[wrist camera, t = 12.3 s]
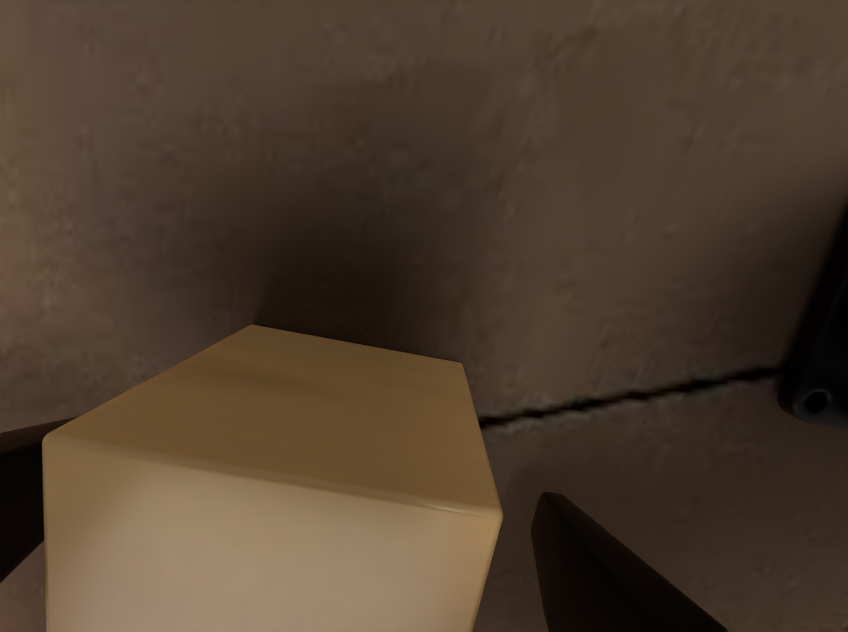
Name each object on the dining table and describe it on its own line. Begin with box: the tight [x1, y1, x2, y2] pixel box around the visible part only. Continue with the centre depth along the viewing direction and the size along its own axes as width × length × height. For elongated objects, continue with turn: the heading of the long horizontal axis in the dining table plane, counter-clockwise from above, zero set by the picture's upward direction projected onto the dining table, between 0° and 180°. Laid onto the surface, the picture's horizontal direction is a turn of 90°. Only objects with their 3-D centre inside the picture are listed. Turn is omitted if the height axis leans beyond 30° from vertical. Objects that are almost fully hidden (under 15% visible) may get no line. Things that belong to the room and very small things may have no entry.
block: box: [42, 325, 503, 632], centre depth 7 cm, size 5×5×5 cm
